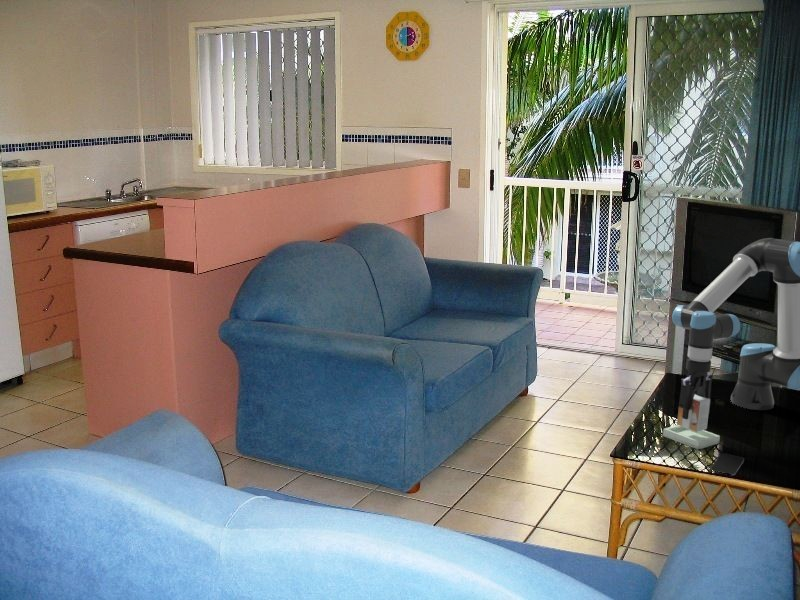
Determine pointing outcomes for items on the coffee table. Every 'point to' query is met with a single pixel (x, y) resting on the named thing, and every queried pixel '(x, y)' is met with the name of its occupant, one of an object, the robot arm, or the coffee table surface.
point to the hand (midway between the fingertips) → (692, 426)
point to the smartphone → (727, 464)
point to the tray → (691, 437)
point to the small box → (697, 413)
